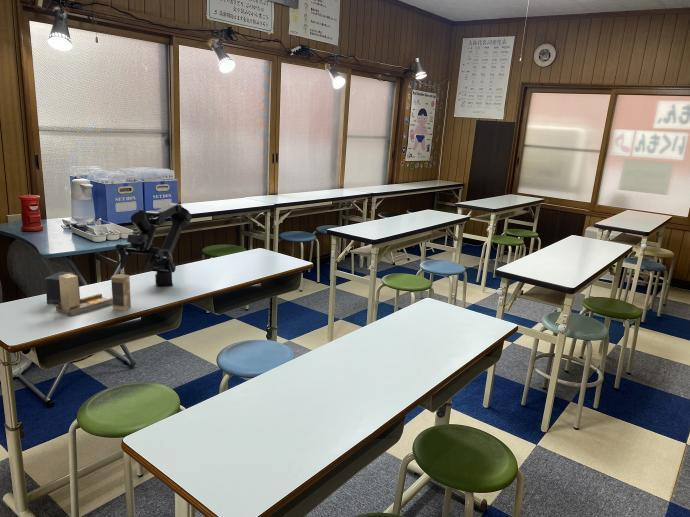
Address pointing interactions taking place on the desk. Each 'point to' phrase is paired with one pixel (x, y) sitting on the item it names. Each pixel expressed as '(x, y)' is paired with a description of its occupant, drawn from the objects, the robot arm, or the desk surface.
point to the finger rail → (77, 297)
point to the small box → (54, 288)
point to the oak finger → (121, 292)
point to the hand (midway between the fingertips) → (131, 269)
